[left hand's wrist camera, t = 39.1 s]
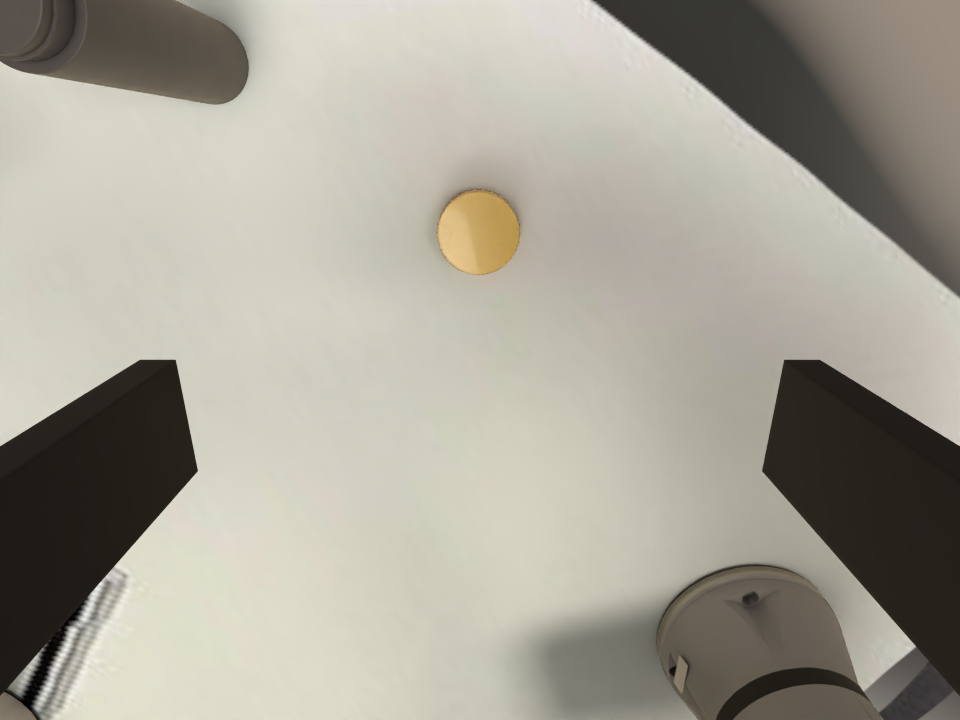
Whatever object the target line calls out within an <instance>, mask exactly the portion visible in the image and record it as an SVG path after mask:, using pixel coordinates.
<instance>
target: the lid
mask: <svg viewBox="0 0 960 720" xmlns="http://www.w3.org/2000/svg"><path fill="white" fill-rule="evenodd" d="M444 209H445V210H444V212H443V213H441V215H440V216H441V218H440V221H439V222H438V224H437V225H438V231H437V234H438V242H439V246H440V248H441V249H440V250H441V251H442V253H443V255H444V256H445V258H446V259H447V260H448V261H449V262H450V264H452V265H453V266H454V267H456V268H457V269H459V270H461V271H463V272H466V273H469V274H475V275H483V274H488V273H492V272H494V271H496V270H498V269H500V268H502V267H503V266H504V265H506V264H507V262H508V261H509V260H510V259H511V258H512V256H513V255H514V253H515V252H516V248H517V246H518V243H519V235H520V232H519V226H520V224H519V223H518V221H517V215H516V214H515V213H514V212H513V207H512V206H511V207H510V205H509V204H508V202H507V200H504V199H503V198H502V197H501V196H500V195H497V194H495V193H493V191H491V192H490V191H486V190H484V189H483V190H476V189H474V190H471V191H467V190H466V191H465V192H464V193H462V194H458V195H457V197H455V198H454V199H451V200H450V203H449V204H448V205H446V206H445V208H444Z"/></svg>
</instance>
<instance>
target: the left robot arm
mask: <svg viewBox="0 0 960 720" xmlns="http://www.w3.org/2000/svg"><path fill="white" fill-rule="evenodd" d="M197 471H198V469H197V464H196V459H195V454H194V449H193V444H192V439H191V434H190V429H189V424H188V419H187V414H186V409H185V404H184V399H183V394H182V389H181V384H180V379H179V374H178V369H177V364H176V360H139V361H138V362H136V363H134V364H133V365H131V366H129V367H128V368H126V369H125V370H123V371H121V372H120V373H118V374H117V375H115V376H113V377H112V378H110V379H108V380H107V381H105V382H104V383H102V384H100V385H99V386H97V387H96V388H94V389H92V390H91V391H89V392H87V393H86V394H84V395H83V396H81V397H79V398H78V399H76V400H74V401H73V402H71V403H70V404H68V405H66V406H65V407H63V408H62V409H60V410H58V411H57V412H55V413H53V414H52V415H50V416H49V417H47V418H45V419H44V420H42V421H41V422H39V423H37V424H36V425H34V426H32V427H31V428H29V429H28V430H26V431H24V432H23V433H21V434H19V435H18V436H16V437H15V438H13V439H11V440H10V441H8V442H7V443H5V444H3V445H2V446H0V696H1V695H2V693H3V692H4V691H5V690H6V689H7V688H8V687H9V685H10V684H11V683H12V682H13V681H14V680H15V679H16V677H17V676H18V675H19V674H20V673H21V672H22V671H23V669H24V668H25V667H26V666H27V665H28V664H29V663H30V662H31V660H32V659H33V658H34V657H35V656H36V655H37V654H38V652H39V651H40V650H41V649H42V648H43V647H44V646H45V644H46V643H47V642H48V641H49V640H50V639H51V638H52V636H53V635H54V634H55V633H56V632H57V631H58V630H59V629H60V627H61V626H62V625H63V624H64V623H65V622H66V621H67V619H68V618H69V617H70V616H71V615H72V614H73V613H74V611H75V610H76V609H77V608H78V607H79V606H80V605H81V603H82V602H83V601H84V600H85V599H86V598H87V597H88V595H89V594H90V593H91V592H92V591H93V590H94V589H95V588H96V586H97V585H98V584H99V583H100V582H101V581H102V580H103V578H104V577H105V576H106V575H107V574H108V573H109V572H110V570H111V569H112V568H113V567H114V566H115V565H116V564H117V562H118V561H119V560H120V559H121V558H122V557H123V556H124V555H125V553H126V552H127V551H128V550H129V549H130V548H131V547H132V545H133V544H134V543H135V542H136V541H137V540H138V539H139V537H140V536H141V535H142V534H143V533H144V532H145V531H146V529H147V528H148V527H149V526H150V525H151V524H152V523H153V521H154V520H155V519H156V518H157V517H158V516H159V515H160V514H161V512H162V511H163V510H164V509H165V508H166V507H167V506H168V504H169V503H170V502H171V501H172V500H173V499H174V498H175V496H176V495H177V494H178V493H179V492H180V491H181V490H182V488H183V487H184V486H185V485H186V484H187V483H188V482H189V481H190V479H191V478H192V477H193V476H194V475H195V474H196V473H197ZM762 471H763V473H764V474H765V475H766V476H767V477H768V478H769V479H770V481H771V482H772V483H773V484H774V485H775V486H776V487H777V488H778V490H779V491H780V492H781V493H782V494H783V495H784V496H785V498H786V499H787V500H788V501H789V502H790V503H791V504H792V506H793V507H794V508H795V509H796V510H797V511H798V512H799V514H800V515H801V516H802V517H803V518H804V519H805V520H806V521H807V523H808V524H809V525H810V526H811V527H812V528H813V529H814V531H815V532H816V533H817V534H818V535H819V536H820V537H821V539H822V540H823V541H824V542H825V543H826V544H827V545H828V547H829V548H830V549H831V550H832V551H833V552H834V553H835V555H836V556H837V557H838V558H839V559H840V560H841V561H842V562H843V564H844V565H845V566H846V567H847V568H848V569H849V570H850V572H851V573H852V574H853V575H854V576H855V577H856V578H857V580H858V581H859V582H860V583H861V584H862V585H863V586H864V588H865V589H866V590H867V591H868V592H869V593H870V594H871V595H872V597H873V598H874V599H875V600H876V601H877V602H878V603H879V605H880V606H881V607H882V608H883V609H884V610H885V611H886V613H887V614H888V615H889V616H890V617H891V618H892V619H893V621H894V622H895V623H896V624H897V625H898V626H899V627H900V629H901V630H902V631H903V632H904V633H905V634H906V635H907V636H908V638H909V639H910V640H911V641H912V642H913V643H914V644H915V646H916V647H917V648H918V649H919V650H920V651H921V652H922V654H923V655H924V656H925V657H926V658H927V659H928V660H929V662H930V663H931V664H932V665H933V666H934V667H935V668H936V669H937V671H938V672H939V673H940V674H941V675H942V676H943V677H944V679H945V680H946V681H947V682H948V683H949V684H950V685H951V687H952V688H953V689H954V690H955V691H956V692H957V693H958V695H959V696H960V446H958V445H957V444H955V443H953V442H952V441H950V440H949V439H947V438H945V437H944V436H942V435H941V434H939V433H937V432H936V431H934V430H932V429H931V428H929V427H928V426H926V425H924V424H923V423H921V422H919V421H918V420H916V419H915V418H913V417H911V416H910V415H908V414H907V413H905V412H903V411H902V410H900V409H898V408H897V407H895V406H894V405H892V404H890V403H889V402H887V401H886V400H884V399H882V398H881V397H879V396H877V395H876V394H874V393H873V392H871V391H869V390H868V389H866V388H864V387H863V386H861V385H860V384H858V383H856V382H855V381H853V380H852V379H850V378H848V377H847V376H845V375H843V374H842V373H840V372H839V371H837V370H835V369H834V368H832V367H831V366H829V365H827V364H826V363H824V362H822V361H821V360H784V364H783V369H782V374H781V379H780V384H779V389H778V394H777V399H776V404H775V409H774V414H773V419H772V424H771V429H770V434H769V439H768V444H767V449H766V454H765V459H764V464H763V469H762ZM657 650H658V655H659V658H660V660H661V663H662V666H663V669H664V672H665V674H666V676H667V678H668V680H669V681H670V683H671V685H672V687H673V688H674V690H675V691H676V692H677V694H678V695H679V696H680V697H681V699H682V700H683V701H684V702H685V704H686V705H687V706H688V708H689V709H690V710H691V711H692V713H693V714H694V715H695V716H696V718H697V719H698V720H883V718H882V717H881V715H880V714H879V713H878V711H877V710H876V708H875V707H874V706H873V705H872V703H871V702H870V700H869V699H868V698H867V696H866V695H865V693H864V692H863V690H862V689H861V687H860V686H859V684H858V682H857V679H856V675H855V672H854V669H853V666H852V663H851V659H850V656H849V653H848V650H847V647H846V644H845V641H844V638H843V635H842V631H841V628H840V625H839V622H838V620H837V618H836V616H835V614H834V612H833V610H832V608H831V607H830V605H829V604H828V603H827V601H826V600H825V599H824V597H823V596H822V595H821V594H820V592H819V591H818V590H817V589H816V588H815V587H814V586H813V585H812V584H811V583H810V582H809V581H807V580H806V579H804V578H803V577H801V576H799V575H797V574H795V573H792V572H790V571H787V570H783V569H779V568H774V567H766V566H748V567H739V568H734V569H729V570H725V571H722V572H719V573H716V574H713V575H711V576H709V577H707V578H704V579H702V580H701V581H699V582H697V583H695V584H694V585H692V586H691V587H689V588H688V589H687V590H686V591H684V592H683V593H682V594H681V595H680V596H679V597H678V598H677V599H676V600H675V601H674V602H673V603H672V604H671V605H670V607H669V608H668V610H667V611H666V613H665V615H664V616H663V618H662V621H661V623H660V626H659V629H658V634H657Z"/></svg>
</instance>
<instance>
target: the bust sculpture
mask: <svg viewBox="0 0 960 720" xmlns="http://www.w3.org/2000/svg"><path fill="white" fill-rule="evenodd" d="M0 720H37V719H36V718H35V716H34V715H33V714H32V713H31V712H30V710H29V709H28V708H27V707H25V706H24V705H23V704H22V703H21V702H20V701H18V700H17V699H15V698H14V697H12V696H11V695H9V694H7V693H5V692H3V693H2V695H1V696H0Z"/></svg>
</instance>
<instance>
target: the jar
mask: <svg viewBox="0 0 960 720" xmlns="http://www.w3.org/2000/svg"><path fill="white" fill-rule="evenodd" d="M0 61H1V62H2V63H4V64H6V65H8V66H10V67H11V68H14V69H16V70H19V71H22V72H26V73H31V74H37V75H43V76H49V77H55V78H61V79H66V80H72V81H78V82H84V83H90V84H96V85H102V86H108V87H113V88H119V89H125V90H131V91H137V92H143V93H149V94H155V95H161V96H166V97H172V98H178V99H184V100H190V101H196V102H202V103H208V104H223V103H226V102H229V101H231V100H232V99H234V98H235V97H236V96H237V95H238V94H239V93H240V92H241V91H242V89H243V87H244V86H245V83H246V80H247V76H248V61H247V56H246V52H245V50H244V47H243V45H242V43H241V41H240V40H239V38H238V37H237V36H236V35H235V33H234V32H233V31H232V30H231V29H230V28H228V27H227V26H226V25H224V24H222V23H221V22H219V21H217V20H215V19H213V18H210V17H208V16H206V15H204V14H202V13H200V12H198V11H196V10H194V9H192V8H190V7H188V6H186V5H184V4H182V3H180V2H178V1H176V0H0Z"/></svg>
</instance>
